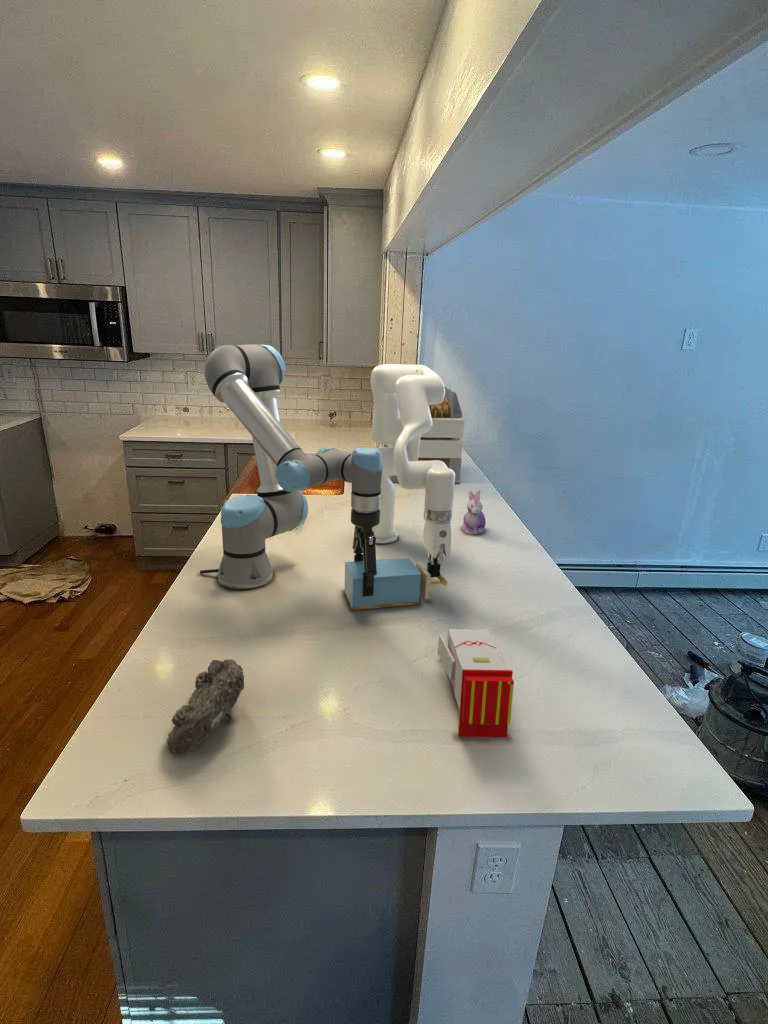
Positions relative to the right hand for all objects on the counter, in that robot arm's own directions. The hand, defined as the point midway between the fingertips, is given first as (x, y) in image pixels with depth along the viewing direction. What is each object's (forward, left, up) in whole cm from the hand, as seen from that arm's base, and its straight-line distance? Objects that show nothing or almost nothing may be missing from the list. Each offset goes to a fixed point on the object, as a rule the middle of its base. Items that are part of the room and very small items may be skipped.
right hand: (433, 575), depth 157 cm
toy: (+17, -40, -6) cm, 44 cm away
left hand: (-17, -10, -1) cm, 20 cm away
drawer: (-7, -4, -5) cm, 10 cm away
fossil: (-29, -64, -6) cm, 71 cm away
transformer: (-32, +119, -6) cm, 124 cm away
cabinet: (-13, -7, -6) cm, 16 cm away
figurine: (+4, +53, -6) cm, 54 cm away
